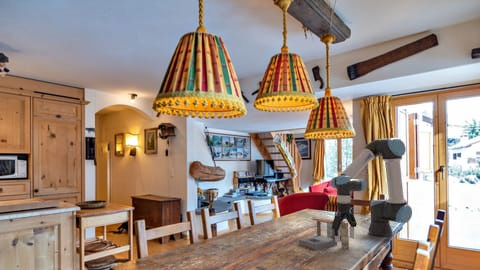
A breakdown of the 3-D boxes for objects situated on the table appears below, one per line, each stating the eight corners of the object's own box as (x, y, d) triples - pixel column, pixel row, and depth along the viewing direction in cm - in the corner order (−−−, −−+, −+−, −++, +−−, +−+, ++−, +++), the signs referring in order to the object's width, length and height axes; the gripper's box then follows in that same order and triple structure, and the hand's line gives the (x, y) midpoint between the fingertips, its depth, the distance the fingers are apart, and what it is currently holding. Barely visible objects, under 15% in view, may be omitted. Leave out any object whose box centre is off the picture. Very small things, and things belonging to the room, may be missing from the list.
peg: (344, 246, 178) (343, 222, 179) (350, 248, 175) (349, 223, 176) (340, 248, 176) (339, 223, 177) (346, 249, 173) (345, 224, 174)
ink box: (346, 239, 195) (345, 220, 196) (335, 240, 192) (334, 221, 193) (337, 236, 203) (336, 218, 204) (326, 237, 200) (326, 219, 201)
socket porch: (318, 239, 194) (318, 217, 195) (337, 244, 182) (336, 220, 184) (298, 244, 183) (298, 220, 185) (317, 250, 172) (316, 224, 173)
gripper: (351, 200, 188) (352, 235, 186) (324, 203, 173) (325, 241, 172) (362, 201, 182) (363, 237, 180) (335, 205, 167) (336, 244, 166)
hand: (345, 239), depth 176 cm, fingers open, 13 cm apart
